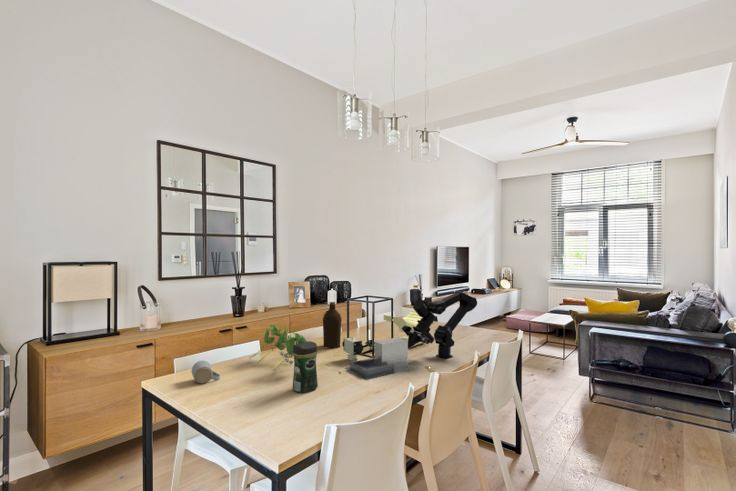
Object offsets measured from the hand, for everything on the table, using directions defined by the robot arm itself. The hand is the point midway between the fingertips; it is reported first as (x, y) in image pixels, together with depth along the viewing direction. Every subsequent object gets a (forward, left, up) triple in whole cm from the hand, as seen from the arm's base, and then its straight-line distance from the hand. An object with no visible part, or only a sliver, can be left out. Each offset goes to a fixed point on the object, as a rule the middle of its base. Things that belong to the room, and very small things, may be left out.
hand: (408, 347), depth 179 cm
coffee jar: (+55, -6, -8) cm, 56 cm away
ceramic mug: (+81, -40, -8) cm, 91 cm away
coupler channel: (+15, -2, -8) cm, 17 cm away
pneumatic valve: (+18, -21, -8) cm, 28 cm away
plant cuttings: (+49, -37, -8) cm, 62 cm away
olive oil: (+10, -50, -8) cm, 51 cm away
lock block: (+10, -1, -7) cm, 12 cm away
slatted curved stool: (-29, -26, -8) cm, 40 cm away
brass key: (0, +13, -8) cm, 16 cm away
